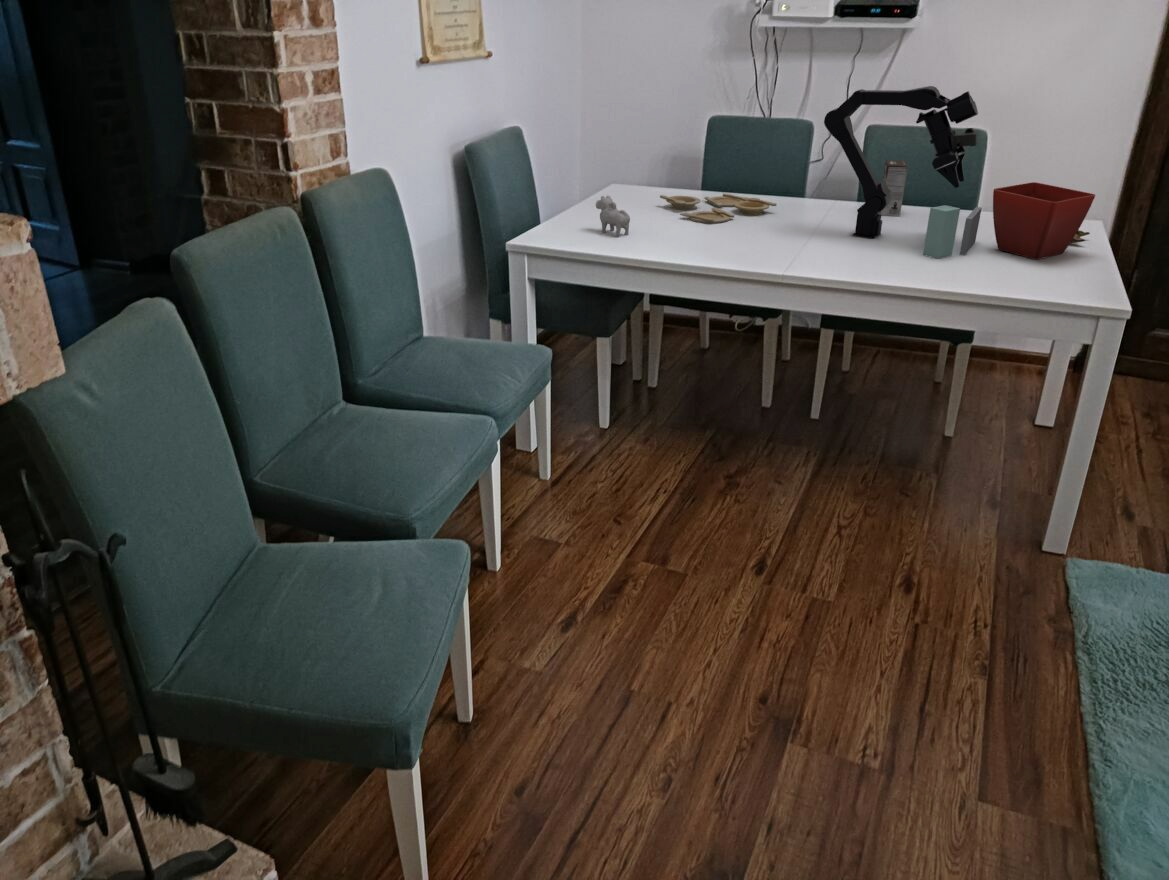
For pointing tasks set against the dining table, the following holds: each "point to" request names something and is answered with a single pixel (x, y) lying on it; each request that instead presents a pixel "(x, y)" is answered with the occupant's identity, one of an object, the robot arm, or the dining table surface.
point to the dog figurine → (612, 216)
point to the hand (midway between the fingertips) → (960, 184)
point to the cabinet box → (941, 231)
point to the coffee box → (894, 186)
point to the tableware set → (716, 215)
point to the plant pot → (1038, 218)
